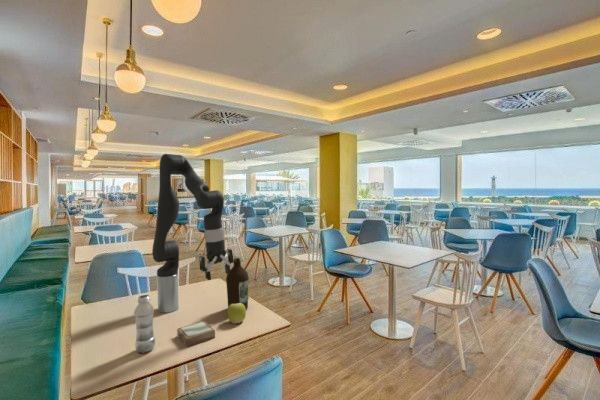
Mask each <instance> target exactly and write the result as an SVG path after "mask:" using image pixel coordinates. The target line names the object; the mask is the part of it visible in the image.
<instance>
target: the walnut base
mask: <svg viewBox="0 0 600 400" xmlns="http://www.w3.org/2000/svg"><path fill="white" fill-rule="evenodd" d="M176 331H177V334H176V335H177V337H178V338H179V340H180V341H181V342H182V343H183V344H184V345H185V347H186V348H188V347H191V346H194V345H197V344H200V343H204V342H206V341H209V340H212V339H214V338H216V329H214V328H213V327H212V326H211V325H210V324H208V323H207V322H206V321H205V320H202V321H199V322H196V323H192V324H189V325H186V326H182V327H179V328H177V329H176Z"/></svg>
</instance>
